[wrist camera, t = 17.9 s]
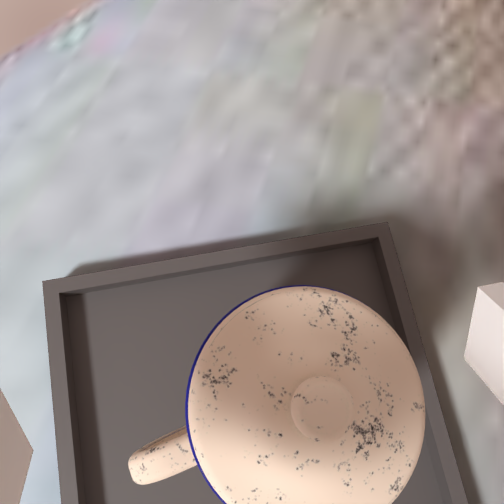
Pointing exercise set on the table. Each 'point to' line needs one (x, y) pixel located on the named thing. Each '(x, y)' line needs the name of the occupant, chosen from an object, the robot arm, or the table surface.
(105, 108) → the table surface
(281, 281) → the tea tray
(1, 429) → the robot arm
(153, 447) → the teacup with lid
